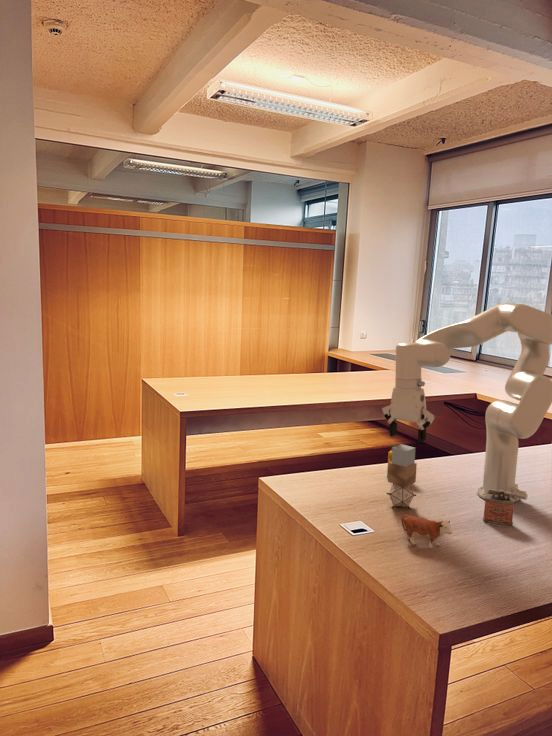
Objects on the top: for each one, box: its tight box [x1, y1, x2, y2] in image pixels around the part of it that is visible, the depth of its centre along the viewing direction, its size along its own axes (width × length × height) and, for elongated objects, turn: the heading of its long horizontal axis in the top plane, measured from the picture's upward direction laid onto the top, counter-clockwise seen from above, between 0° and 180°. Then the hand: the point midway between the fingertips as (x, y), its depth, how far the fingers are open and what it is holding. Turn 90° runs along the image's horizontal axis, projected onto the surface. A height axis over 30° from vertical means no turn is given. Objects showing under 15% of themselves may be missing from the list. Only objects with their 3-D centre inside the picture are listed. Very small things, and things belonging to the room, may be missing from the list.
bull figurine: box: [401, 514, 454, 550], centre depth 144 cm, size 4×13×8 cm, turn 58°
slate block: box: [392, 444, 416, 467], centre depth 167 cm, size 5×5×5 cm
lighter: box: [482, 489, 516, 528], centre depth 158 cm, size 8×3×10 cm, turn 71°
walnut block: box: [387, 462, 418, 487], centre depth 168 cm, size 6×6×6 cm
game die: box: [386, 483, 417, 510], centre depth 169 cm, size 9×8×10 cm
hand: (407, 438), depth 168 cm, fingers open, 9 cm apart
